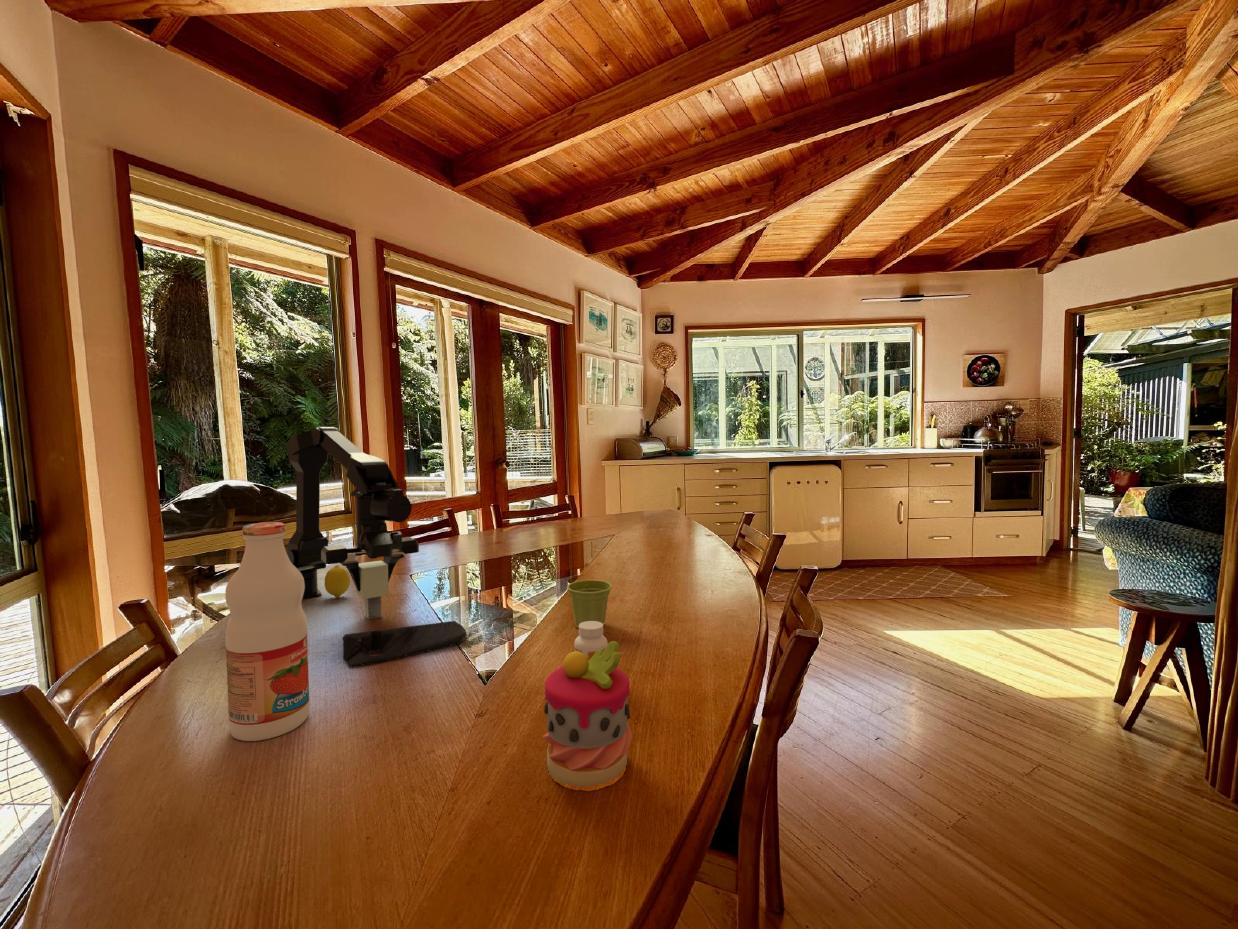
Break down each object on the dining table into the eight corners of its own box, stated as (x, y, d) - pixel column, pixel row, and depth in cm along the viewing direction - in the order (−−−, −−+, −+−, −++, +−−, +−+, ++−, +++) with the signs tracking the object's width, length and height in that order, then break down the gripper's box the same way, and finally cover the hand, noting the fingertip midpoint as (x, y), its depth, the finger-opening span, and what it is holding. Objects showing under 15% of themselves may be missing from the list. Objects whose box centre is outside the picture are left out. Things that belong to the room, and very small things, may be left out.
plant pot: (559, 630, 110) (559, 589, 110) (579, 616, 119) (579, 577, 118) (600, 637, 107) (600, 594, 106) (618, 622, 115) (618, 582, 115)
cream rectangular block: (356, 593, 118) (356, 563, 117) (381, 589, 121) (381, 560, 121) (362, 599, 114) (362, 568, 113) (388, 594, 117) (388, 565, 117)
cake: (558, 804, 59) (558, 671, 58) (534, 751, 69) (533, 636, 68) (644, 779, 63) (645, 655, 62) (610, 733, 73) (610, 625, 72)
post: (365, 616, 118) (364, 585, 117) (377, 614, 120) (377, 583, 119) (368, 619, 116) (367, 588, 115) (381, 617, 118) (380, 585, 117)
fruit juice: (247, 710, 78) (240, 520, 76) (318, 703, 80) (313, 518, 79) (215, 747, 69) (206, 532, 67) (296, 738, 71) (289, 529, 69)
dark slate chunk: (472, 651, 101) (471, 626, 101) (340, 673, 91) (339, 646, 91) (459, 625, 115) (458, 603, 114) (343, 641, 105) (343, 617, 105)
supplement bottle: (612, 678, 89) (612, 621, 88) (600, 693, 84) (600, 632, 83) (582, 673, 91) (582, 617, 90) (568, 688, 85) (568, 628, 85)
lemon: (355, 594, 134) (354, 563, 133) (341, 601, 128) (340, 568, 128) (334, 593, 134) (333, 562, 134) (319, 600, 129) (318, 567, 128)
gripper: (331, 527, 104) (333, 606, 105) (427, 518, 116) (428, 589, 117) (319, 520, 113) (321, 593, 114) (410, 512, 125) (411, 578, 126)
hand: (372, 588), depth 117 cm, fingers closed on cream rectangular block, 5 cm apart
